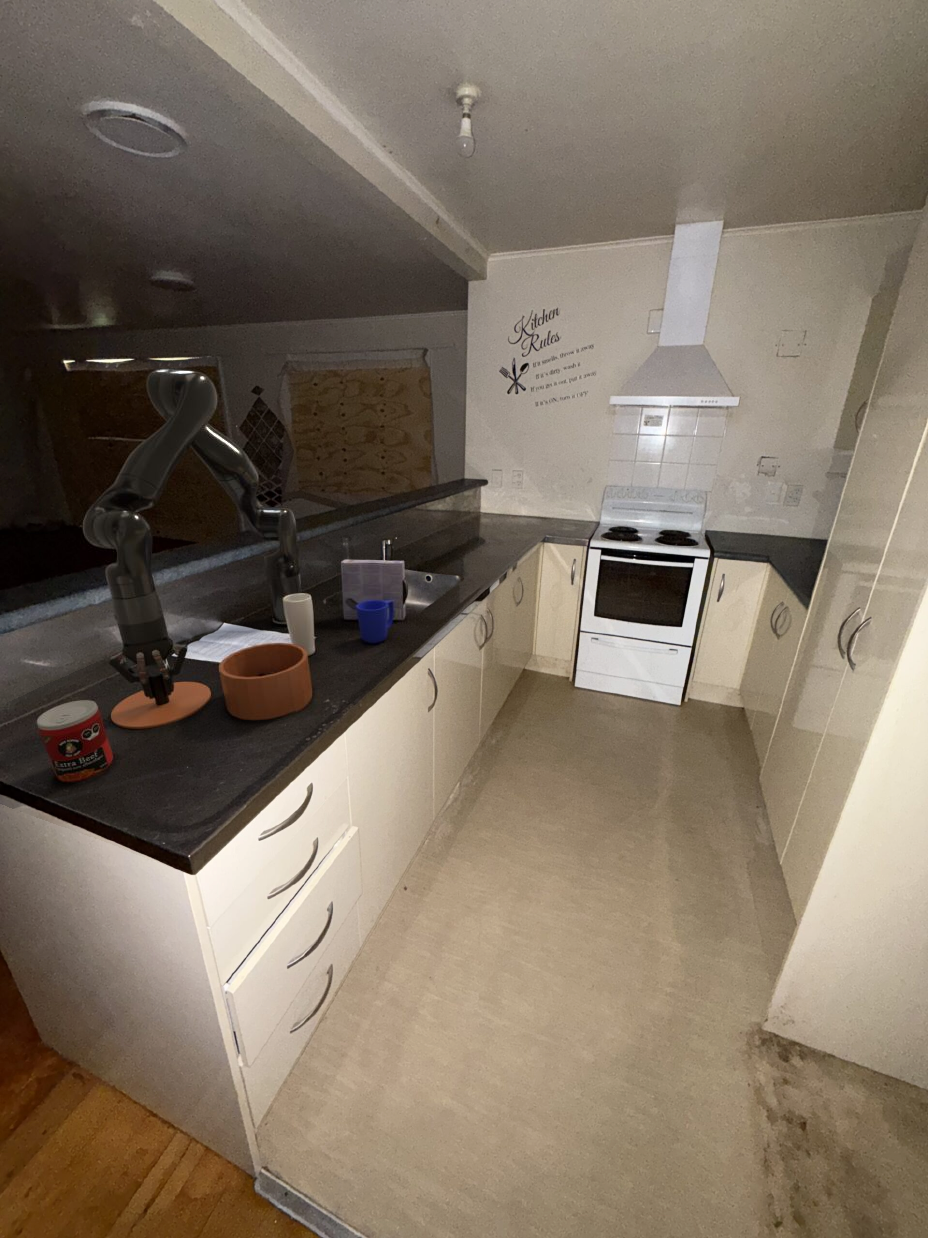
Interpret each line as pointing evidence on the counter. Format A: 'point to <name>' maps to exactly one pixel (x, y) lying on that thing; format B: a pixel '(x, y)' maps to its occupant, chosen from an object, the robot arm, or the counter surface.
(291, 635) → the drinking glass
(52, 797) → the counter surface
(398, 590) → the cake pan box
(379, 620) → the mug
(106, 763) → the canned food
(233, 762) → the counter surface
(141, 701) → the pot lid
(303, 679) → the pot
